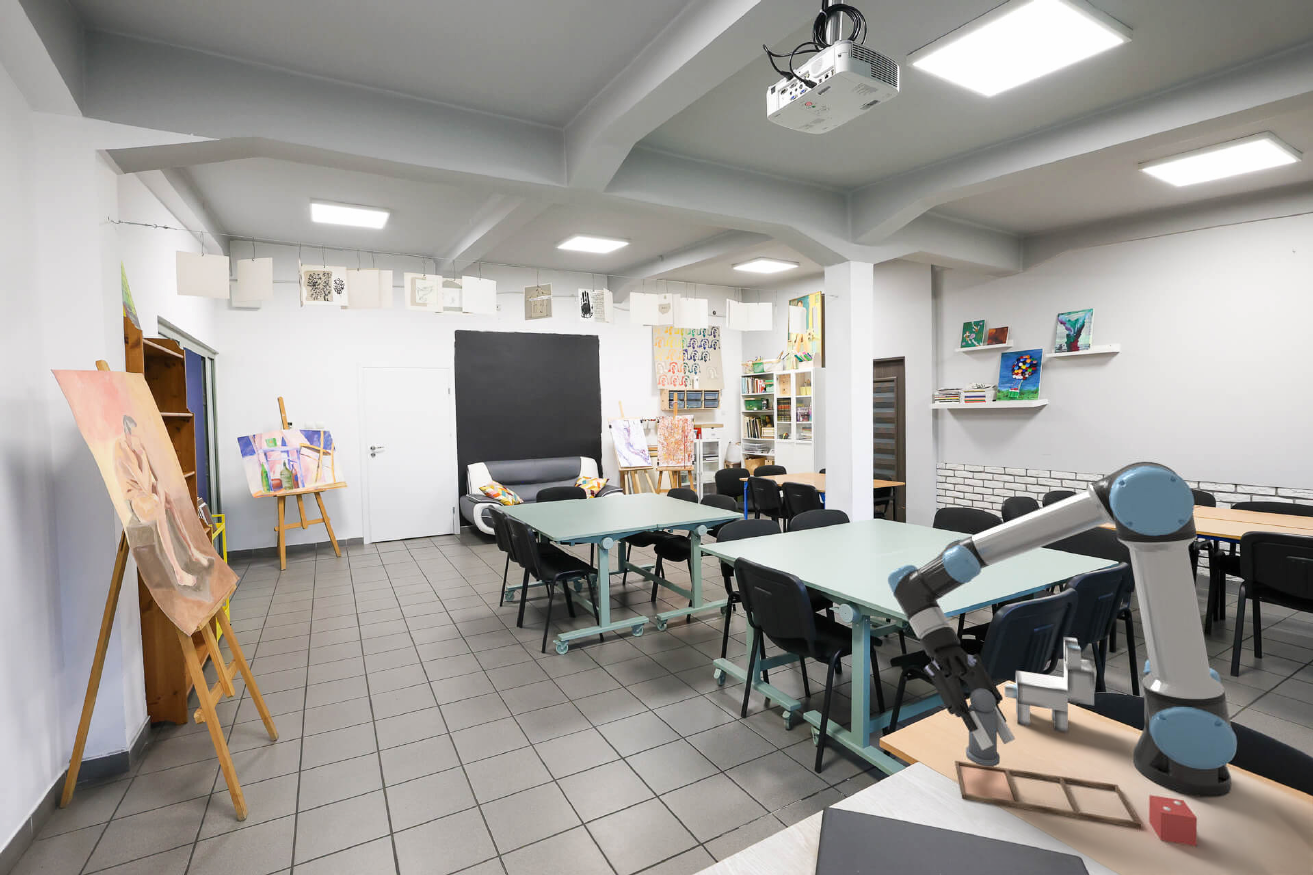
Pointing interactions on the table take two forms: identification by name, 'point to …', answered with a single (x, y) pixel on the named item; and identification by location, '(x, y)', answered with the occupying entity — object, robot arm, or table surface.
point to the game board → (995, 789)
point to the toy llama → (1054, 688)
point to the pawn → (987, 716)
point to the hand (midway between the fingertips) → (998, 744)
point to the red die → (1173, 820)
